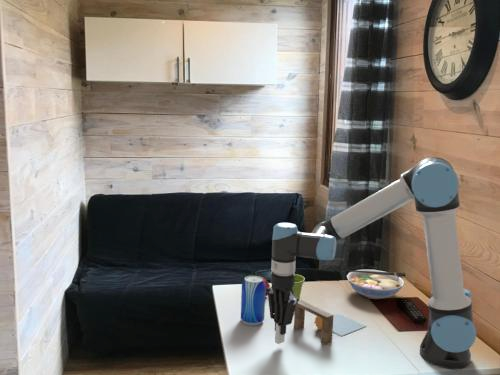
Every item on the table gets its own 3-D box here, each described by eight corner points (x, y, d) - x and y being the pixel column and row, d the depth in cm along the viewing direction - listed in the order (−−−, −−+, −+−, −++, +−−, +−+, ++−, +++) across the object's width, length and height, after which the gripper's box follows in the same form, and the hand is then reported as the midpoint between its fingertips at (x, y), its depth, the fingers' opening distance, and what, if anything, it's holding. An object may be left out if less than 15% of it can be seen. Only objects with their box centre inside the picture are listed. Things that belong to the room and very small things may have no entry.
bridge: (299, 325, 184) (301, 299, 183) (331, 342, 173) (333, 315, 171) (293, 328, 182) (295, 301, 181) (325, 345, 171) (327, 317, 169)
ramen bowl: (342, 303, 205) (343, 284, 203) (343, 283, 227) (344, 265, 226) (408, 310, 201) (410, 290, 199) (402, 288, 223) (404, 270, 221)
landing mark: (366, 326, 185) (366, 326, 185) (341, 336, 177) (341, 335, 177) (338, 313, 195) (338, 313, 195) (313, 322, 187) (313, 322, 187)
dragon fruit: (255, 306, 204) (257, 298, 216) (273, 294, 203) (274, 287, 215) (243, 287, 204) (245, 281, 216) (261, 276, 203) (263, 270, 215)
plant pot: (302, 304, 203) (303, 283, 201) (278, 302, 205) (279, 280, 203) (304, 295, 212) (305, 275, 210) (281, 293, 214) (282, 272, 212)
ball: (326, 336, 179) (337, 326, 182) (322, 322, 176) (333, 312, 180) (313, 330, 183) (324, 320, 186) (309, 317, 181) (320, 307, 184)
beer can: (259, 328, 181) (261, 284, 178) (237, 324, 184) (238, 281, 181) (267, 318, 189) (268, 276, 186) (245, 314, 192) (246, 273, 189)
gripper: (260, 268, 166) (257, 337, 171) (288, 280, 156) (284, 353, 161) (278, 264, 171) (275, 331, 175) (306, 276, 161) (302, 346, 165)
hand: (279, 342), depth 168 cm, fingers closed
